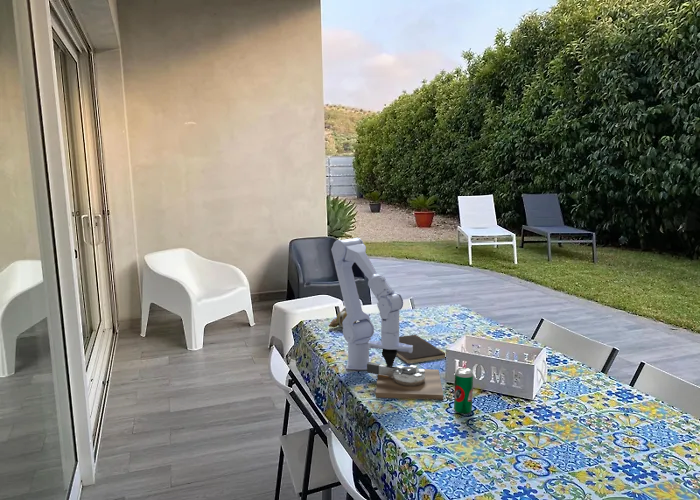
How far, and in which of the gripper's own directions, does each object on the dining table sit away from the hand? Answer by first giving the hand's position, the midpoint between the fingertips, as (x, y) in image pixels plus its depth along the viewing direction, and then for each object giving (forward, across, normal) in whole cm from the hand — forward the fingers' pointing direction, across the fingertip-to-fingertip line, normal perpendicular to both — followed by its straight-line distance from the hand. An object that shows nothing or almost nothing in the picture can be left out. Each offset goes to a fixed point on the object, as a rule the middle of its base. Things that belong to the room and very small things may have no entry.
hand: (390, 371), depth 182 cm
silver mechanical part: (+1, -2, +3) cm, 4 cm away
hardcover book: (+3, -1, -28) cm, 29 cm away
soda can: (+3, -25, +16) cm, 30 cm away
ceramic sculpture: (+3, +32, -48) cm, 58 cm away
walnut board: (+3, -7, +3) cm, 8 cm away
